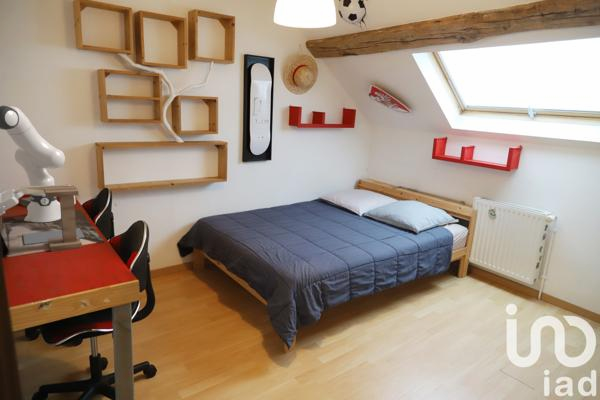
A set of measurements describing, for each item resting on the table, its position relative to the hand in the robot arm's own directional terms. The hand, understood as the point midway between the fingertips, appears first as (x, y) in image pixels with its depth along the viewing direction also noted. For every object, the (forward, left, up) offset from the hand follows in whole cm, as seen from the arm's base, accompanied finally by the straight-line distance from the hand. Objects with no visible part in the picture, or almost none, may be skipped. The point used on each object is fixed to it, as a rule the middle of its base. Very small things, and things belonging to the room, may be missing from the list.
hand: (26, 189), depth 185 cm
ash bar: (0, +7, -2) cm, 7 cm away
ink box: (-60, +22, -24) cm, 68 cm away
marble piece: (-68, +6, -24) cm, 73 cm away
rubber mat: (0, +9, -24) cm, 25 cm away
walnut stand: (+15, +12, -24) cm, 31 cm away
